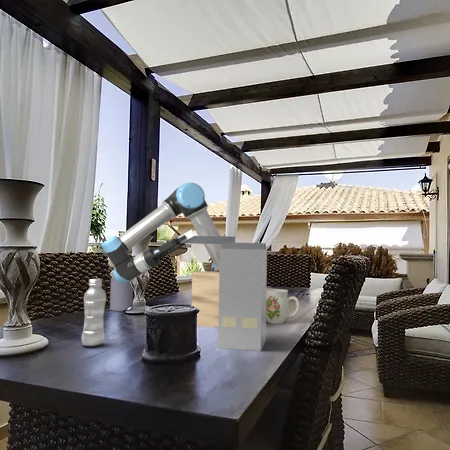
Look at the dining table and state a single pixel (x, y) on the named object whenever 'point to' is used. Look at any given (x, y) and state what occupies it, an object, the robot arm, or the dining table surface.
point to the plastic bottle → (94, 314)
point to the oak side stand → (206, 297)
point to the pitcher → (278, 305)
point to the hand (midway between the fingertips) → (194, 233)
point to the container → (120, 295)
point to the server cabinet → (242, 296)
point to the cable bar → (210, 239)
